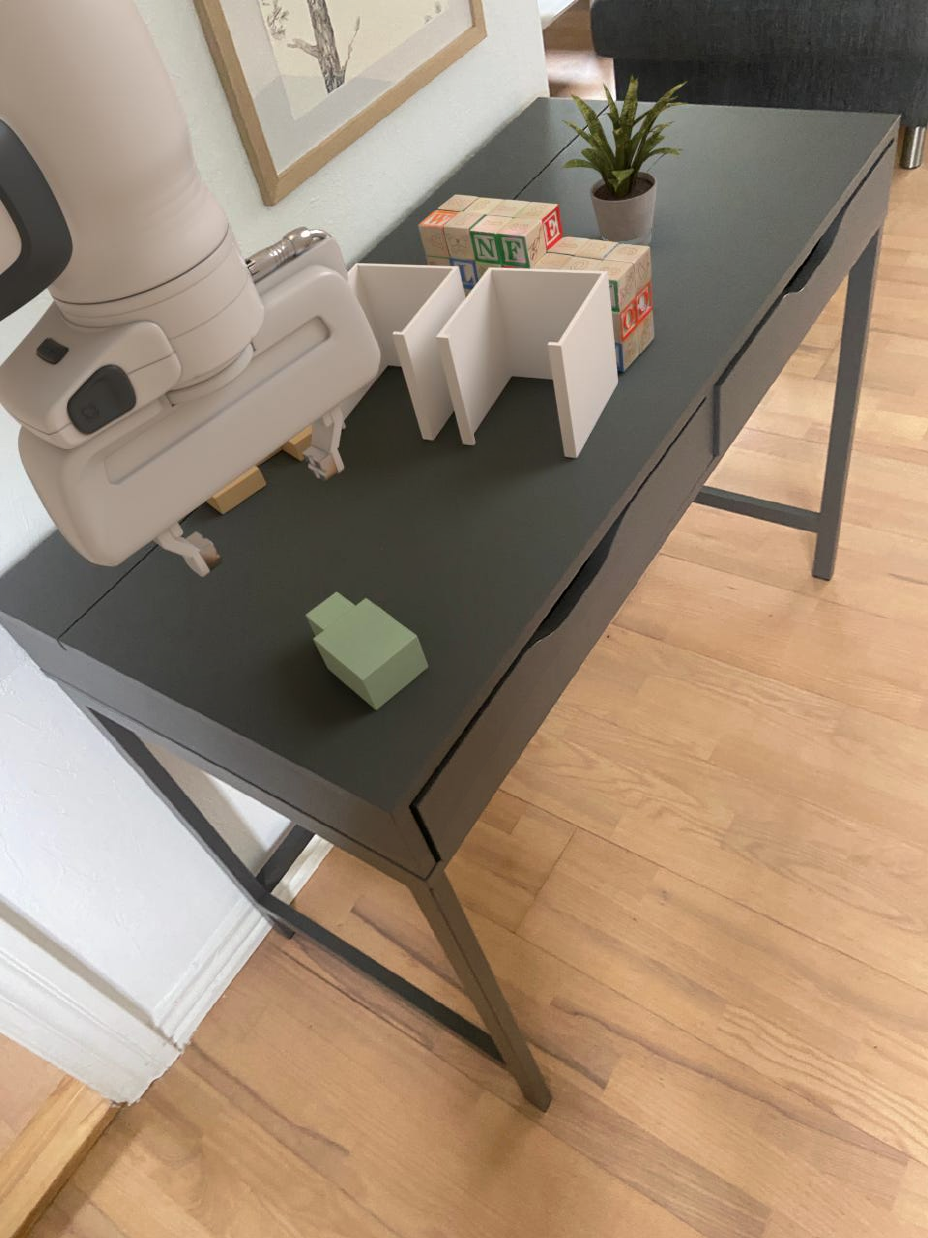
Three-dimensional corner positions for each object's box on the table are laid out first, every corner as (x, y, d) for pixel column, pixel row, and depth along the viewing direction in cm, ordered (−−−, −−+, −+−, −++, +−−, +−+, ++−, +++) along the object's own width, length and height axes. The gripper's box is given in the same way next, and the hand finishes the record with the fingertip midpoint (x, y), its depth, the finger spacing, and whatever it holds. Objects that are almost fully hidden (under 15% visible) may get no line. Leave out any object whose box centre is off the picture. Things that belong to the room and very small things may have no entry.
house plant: (709, 265, 94) (709, 95, 83) (575, 290, 96) (556, 128, 85) (687, 205, 104) (684, 45, 92) (566, 229, 106) (547, 75, 94)
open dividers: (618, 382, 84) (607, 271, 76) (576, 458, 78) (560, 345, 70) (386, 362, 95) (356, 262, 87) (334, 428, 89) (296, 327, 81)
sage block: (376, 710, 64) (362, 680, 62) (309, 653, 69) (294, 623, 67) (428, 667, 66) (417, 635, 63) (360, 614, 71) (346, 583, 68)
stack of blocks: (656, 338, 88) (649, 212, 79) (624, 374, 85) (613, 248, 76) (478, 305, 99) (454, 191, 90) (444, 336, 96) (415, 221, 87)
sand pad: (223, 515, 83) (214, 498, 82) (162, 467, 90) (153, 451, 89) (342, 433, 88) (335, 416, 86) (275, 394, 95) (268, 378, 93)
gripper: (291, 200, 50) (364, 408, 60) (-42, 401, 43) (104, 600, 53) (363, 220, 46) (428, 438, 56) (13, 444, 39) (159, 649, 49)
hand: (269, 518), depth 55 cm, fingers open, 8 cm apart
